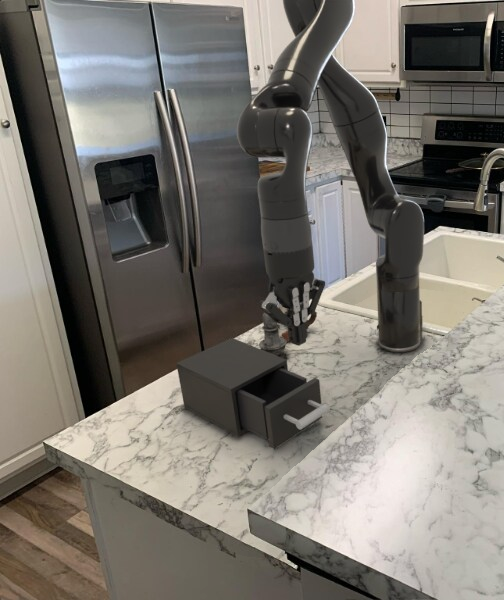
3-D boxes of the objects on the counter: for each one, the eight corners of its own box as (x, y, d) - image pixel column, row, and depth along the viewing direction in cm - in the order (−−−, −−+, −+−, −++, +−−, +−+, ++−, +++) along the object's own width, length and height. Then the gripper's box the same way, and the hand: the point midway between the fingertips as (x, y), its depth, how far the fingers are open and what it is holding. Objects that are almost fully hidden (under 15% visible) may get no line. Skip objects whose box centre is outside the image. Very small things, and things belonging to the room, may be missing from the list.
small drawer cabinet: (291, 404, 115) (286, 359, 111) (237, 437, 105) (230, 389, 102) (238, 380, 123) (232, 337, 120) (184, 408, 114) (176, 363, 111)
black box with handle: (341, 426, 106) (338, 387, 103) (293, 459, 98) (288, 418, 95) (268, 392, 117) (263, 356, 114) (219, 420, 109) (213, 382, 106)
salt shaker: (282, 365, 129) (276, 313, 124) (256, 363, 130) (249, 311, 125) (292, 352, 134) (287, 302, 129) (266, 350, 135) (261, 300, 130)
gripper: (300, 228, 100) (310, 323, 107) (237, 250, 91) (252, 353, 98) (334, 235, 96) (342, 333, 103) (272, 259, 87) (285, 365, 94)
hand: (298, 342), depth 100 cm, fingers closed
